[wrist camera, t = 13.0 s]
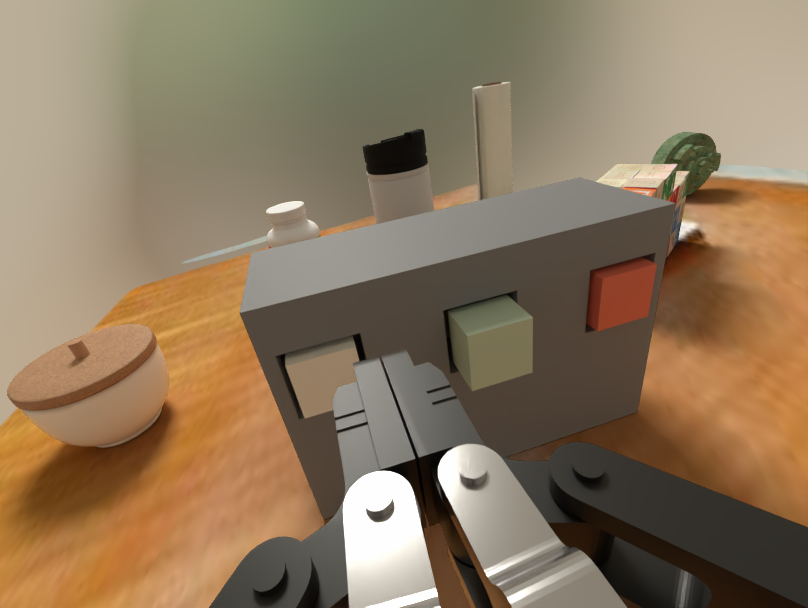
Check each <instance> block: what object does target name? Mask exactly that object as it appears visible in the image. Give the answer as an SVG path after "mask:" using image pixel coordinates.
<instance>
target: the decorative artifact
mask: <svg viewBox="0 0 808 608" xmlns="http://www.w3.org/2000/svg"><path fill="white" fill-rule="evenodd" d="M720 158H721V155H720V153H716V146H715V143H714V141H713V140H712V138H711V137H709V136H708V135H706V134H702V133H692V132H682V133H678V134H676V135H674V136H672V137H671V138H669V139H668V140H667V141H665V142H664V143H663V144H662V146H661V147H660V148H659V149H658V151H657V152H656V154H655V156H654V158H653V160H652V163H651V164H678V166H677V171H690V174H689V179H688V184H687V189H686V194H685V195H686V196H687V195H689V194H692V193H693V192H695V191H696V190H697V189H699V188H700V187H701V186H702V185H703V184H704V183H705V181H706V180H707V179H708V178H709V176H710V175H711V173H712V172H714V171H717V170H718V168H719V164H720Z"/></svg>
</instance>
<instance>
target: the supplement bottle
mask: <svg viewBox="0 0 808 608" xmlns="http://www.w3.org/2000/svg"><path fill="white" fill-rule="evenodd" d="M266 214H267V217H268V220H269V221H270V223H271V224H272V226H273V228H272V229H271V230H270V232H269V233H268V235H267V242H268V245H269V248H275V247H279V246H283V245H288V244H292V243H296V242H301V241H305V240H310V239H314V238H318V237H321V235H320V231H319V228H318V226H317V225H316V224H315V223H314V222H312V221H309V220H307V219H306V209H305V206H304V203H303V202H300V201H293V202H287V203H282V204H279V205H276V206H273V207H271V208H269V209H268V210H267V211H266Z"/></svg>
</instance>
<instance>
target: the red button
mask: <svg viewBox="0 0 808 608" xmlns="http://www.w3.org/2000/svg"><path fill="white" fill-rule="evenodd" d="M656 267H657V264H656V263H654V262H652V261H649V260H647V259H645V258H643V257H638V258H634V259H630V260H627V261H623V262H619V263H616V264H612V265H608V266H605V267H601V268H597V269H594V270H590V279H589V291H588V303H587V315H586V323H587V324H588V325H589V326H591V327H592V328H593V329H595V330H596V331H601V330H604V329H607V328H611V327H614V326H617V325H621V324H624V323H627V322H630V321H634V320H637V319H640V318H644V317H647V316H648V313H649V307H650V301H651V296H652V290H653V284H654V278H655V272H656Z"/></svg>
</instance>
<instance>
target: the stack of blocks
mask: <svg viewBox="0 0 808 608" xmlns="http://www.w3.org/2000/svg"><path fill="white" fill-rule="evenodd" d="M677 166H678V164H617V165H616V166H615V167H613V168H612V169H611V170H610V171H609V172H607V173H606V174H605V175H604V176H602V178H600V179H598V180H597V181H596V182H598V183H602V184H606V185H609V186H613V187H617V188H621V189H624V190H628V191H632V192H636V193H639V194H643V195H647V196H651V197H655V198H658V199H662V200H666V201H670V202H673V203H676V204H675V210H674V215H673V221H672V226H671V232H670V237H669V243H668V248H667V254H666V257H667V256H668V255H669V254H670V252H671V251H672V249H673V247H674V246H675V244H676V242H677V241H678V237H679V231H680V227H681V222H682V217H683V212H684V206H685V201H686V195H685V194H686V189H687V184H688V179H689V174H690V171H677Z"/></svg>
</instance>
